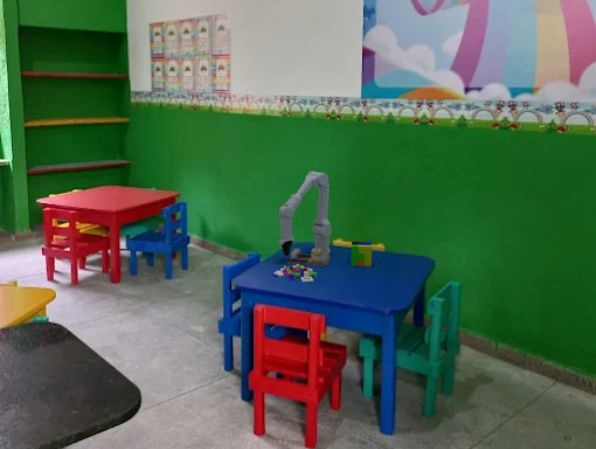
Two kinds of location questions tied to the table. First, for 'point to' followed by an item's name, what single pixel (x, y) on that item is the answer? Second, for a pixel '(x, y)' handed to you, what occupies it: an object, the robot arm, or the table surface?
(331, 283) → the table surface
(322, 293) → the table surface
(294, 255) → the ram
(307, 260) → the press bed
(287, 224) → the robot arm
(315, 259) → the housing
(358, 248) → the puzzle toy
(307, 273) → the building block set
